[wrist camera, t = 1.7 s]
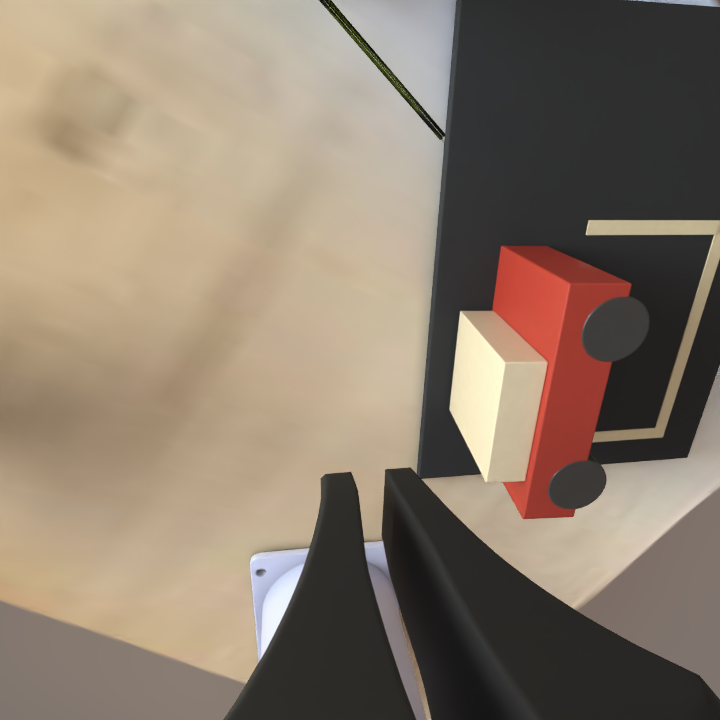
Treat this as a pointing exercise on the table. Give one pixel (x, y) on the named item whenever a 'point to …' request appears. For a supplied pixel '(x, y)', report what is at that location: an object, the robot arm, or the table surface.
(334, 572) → the robot arm
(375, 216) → the table surface
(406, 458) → the table surface
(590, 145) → the mat
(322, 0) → the toy tank
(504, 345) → the toy car
